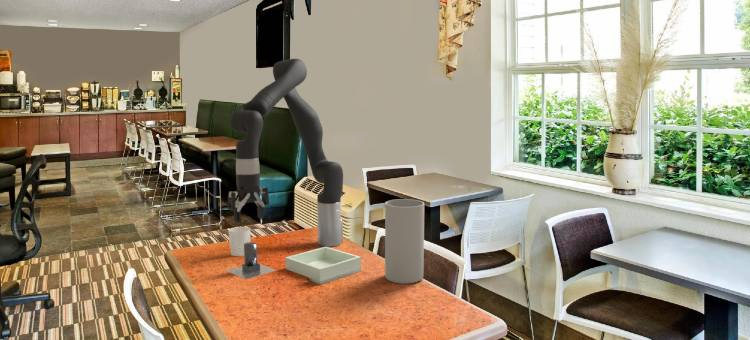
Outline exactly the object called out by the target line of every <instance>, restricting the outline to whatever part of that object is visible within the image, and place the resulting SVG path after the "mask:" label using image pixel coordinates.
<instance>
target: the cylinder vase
mask: <svg viewBox="0 0 750 340" xmlns="http://www.w3.org/2000/svg"><path fill="white" fill-rule="evenodd" d="M384 204H385V206H384V209H385V212H384V215H385V216H384V220H385V221H384V222H385V223H384V229H385V230H384V233H385V234H384V250H385V251H384V267H385V268H384V276H385V279H386V280H387V281H389V282H391V283H394V284H399V285H400V284H401V285H408V284H409V283H411V284H415V282H416V283H419V282H420V281H422V280H423V279H424V262H425V261H424V256H425V252H424V251H425V250H424V249H425V202H423V201H421V200H419V199H418V200H417V199H411V198H410V199H405V198H403V199H402V198H400V199H399V198H398V199H391V200H388V201H387V200H386V201H385V202H384ZM421 279H422V280H421ZM418 281H419V282H418ZM409 285H410V284H409Z"/></svg>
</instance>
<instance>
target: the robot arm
mask: <svg viewBox="0 0 750 340" xmlns="http://www.w3.org/2000/svg"><path fill="white" fill-rule="evenodd" d="M307 69H308V68H307V66H306V64H305V62H304V61H303V60H301V59H299V58H290V59H285V60H281V61H278V62H275V63H274V65H273V67H272V74H273V78H274V81H273V82H271V83H269V84H268V85H266V86H264V87H263V88H261V89H260V90H259V91H258V92H257V93H256V94H255V95H254V97H253V98H251V100H249V101H248V102H246V103H243V104H242V105H241V106H239V107H237V108H236V109H235V110H234V111H233V112H232V113H231V116H230V117H229V126H230V128H231V129H232V130H233V131H235V132H239V133H246V136H245V138H244V139H239V140H238V141H237V142H236V143H235V153H236V155H235V156H236V157H235V159H236V161H235V177H236V180H235V181H236V182H235V183H236V184H235V185H236V191H228V193H227V210H228V211H232V212H233V220H234V222H235V223H236V224H237V223H238V224H241V222H242V211H241V210H242V208H243V206H245V205H246V204H250V203H255V204H256V207H257V208H256V209H257V219H260V220H261V219H264V216H265V206H268V205H270V199H269V198H270V196H269V188H268V187H266V186H261V187H260V185H261V174H260V171H261V169H260V168H261V167H260V161H259V158H260V157H259V156H260V155H259V145H260V140H261V135H262V131H263V126H264V120H263V118H265V117H266V116H267V115H268V114H269V113H270V112H271V110H273V108H274V107H275V106H276V105H277V104H278V103H279V102H280V101H281V100H282V99H284V101H285V103H286V105H287V107H288V110H289V112H290V115H291V116H292V119H293V122H294V126H295V127H296V130H297V133H298V135H299V137H300V139H301V142H302V145H303V148H304V150H305V153H306V156H307V158H308V163H309V166H310V169H311V173H312V176H313V178H314V180H315V181H316V182H317V183H319V184H323V191H322V192H320V193H318V194H317V197H316V198H317V199H316V201H317V202H316V203H317V206H316V207H317V211H316V212H317V244H318V245H319V246H321V247H336V246H337V247H338V246H340V245H341V244H342V243H344V233H343V231H344V230H343V228H344V227H343V222H344V221H343V219H342V216H341V215H342V213H341V211H342V208H341V205H342V203H341V198H342V195H343V190H344V189H343V188H344V171H343V167H342V165H341V164H340V163H338V162H335V161H330V160H328V158H327V157H326V155H325V152H324V150H323V136H324V131H323V126H322V123H321V121H320V117H319V115H318V113H317V112H316V110H315V109H314V108H313V107H312V106H311V105H310V104H309V103H308V102H307V101H306V100H305V99H303V98H302V96H301V95H300V93H299V92H298V91H297V88H296V87H297V86H300V85H301V84H302V83H304V81H305V80H306V79H307V75H308V70H307ZM260 195H261V197H260Z"/></svg>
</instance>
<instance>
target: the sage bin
mask: <svg viewBox="0 0 750 340" xmlns="http://www.w3.org/2000/svg"><path fill="white" fill-rule="evenodd" d="M284 261H285V270H287V271H291V272H293V273H295V274H298V275H301V276H303V277H306V280H307V281H310V282H312V283H316V284H317V285H320V286H321V285H324V284H327V283H330V282H333V281H336V280H340V279H342V278H345V277H347V276H350V275H353V274H357V273H359V272H361V271H362V256H359V255H356V254H352V253H350V252H345V251H342V250H338V249H336V248H332V247H330V246H321V247H318V248H315V249H312V250H308V251H305V252H301V253H297V254H293V255H289V256H287V257H286V256H285V259H284Z"/></svg>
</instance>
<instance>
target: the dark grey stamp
mask: <svg viewBox="0 0 750 340" xmlns="http://www.w3.org/2000/svg"><path fill="white" fill-rule="evenodd" d="M243 258H244V263H242V264H241V267H242V271H245V272H247V273H253V272H256V271H260V264H261V263H259V262H258V243H257V242H254V241H253V242H252V241H250V242H248V243H245V244H244V256H243ZM258 263H259V264H258Z"/></svg>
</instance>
